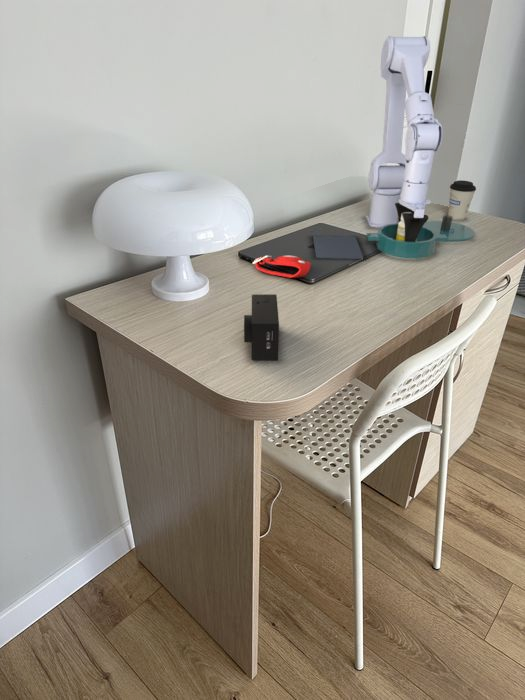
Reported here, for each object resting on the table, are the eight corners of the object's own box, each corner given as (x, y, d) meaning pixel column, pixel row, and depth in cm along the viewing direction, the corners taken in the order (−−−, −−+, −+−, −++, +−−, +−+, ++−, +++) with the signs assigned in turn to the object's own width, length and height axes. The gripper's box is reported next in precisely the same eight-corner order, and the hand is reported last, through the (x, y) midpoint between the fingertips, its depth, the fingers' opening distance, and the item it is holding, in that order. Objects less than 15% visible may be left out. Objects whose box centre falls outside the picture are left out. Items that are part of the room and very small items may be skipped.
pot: (361, 239, 130) (363, 222, 128) (436, 240, 130) (439, 224, 127) (370, 259, 118) (372, 242, 116) (451, 261, 118) (455, 243, 116)
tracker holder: (293, 254, 118) (321, 258, 110) (291, 273, 119) (319, 278, 111) (249, 252, 111) (276, 256, 103) (248, 273, 112) (274, 278, 104)
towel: (312, 237, 131) (312, 235, 130) (355, 238, 130) (355, 236, 130) (316, 258, 119) (316, 256, 119) (363, 259, 119) (363, 257, 118)
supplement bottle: (413, 245, 126) (419, 211, 121) (416, 252, 122) (422, 218, 117) (393, 244, 126) (398, 211, 122) (396, 251, 122) (401, 217, 118)
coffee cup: (462, 214, 148) (470, 179, 143) (473, 221, 142) (482, 185, 137) (439, 215, 147) (446, 179, 142) (450, 222, 141) (457, 186, 136)
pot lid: (410, 224, 140) (413, 207, 138) (463, 225, 140) (467, 208, 138) (423, 243, 128) (426, 225, 125) (481, 244, 128) (486, 226, 125)
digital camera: (245, 328, 91) (244, 293, 87) (275, 328, 91) (276, 293, 87) (244, 360, 82) (243, 323, 78) (277, 360, 82) (279, 323, 78)
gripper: (442, 189, 109) (430, 249, 116) (425, 173, 121) (416, 228, 129) (409, 189, 109) (400, 249, 116) (396, 172, 121) (388, 227, 129)
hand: (406, 238), depth 122 cm, fingers open, 6 cm apart
